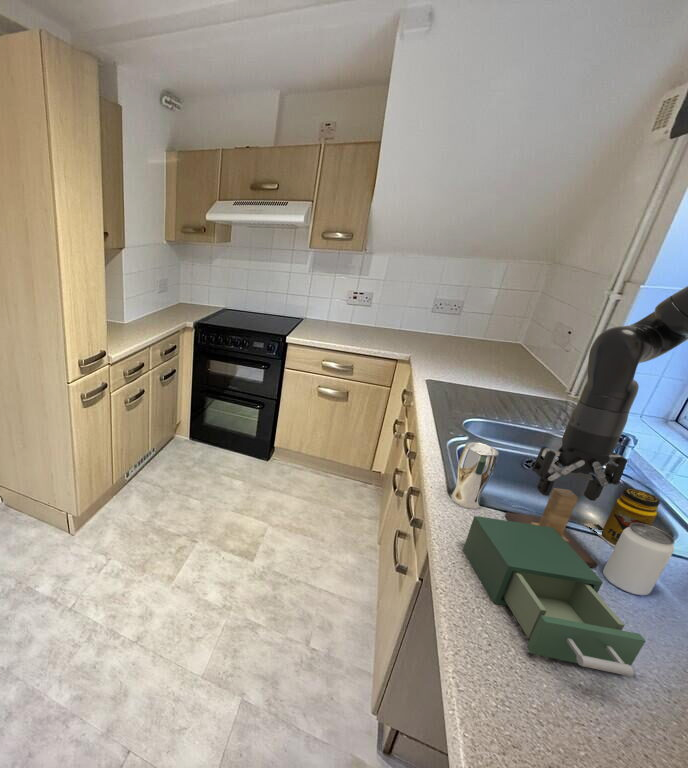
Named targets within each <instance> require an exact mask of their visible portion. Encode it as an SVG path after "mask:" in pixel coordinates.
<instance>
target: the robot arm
mask: <svg viewBox="0 0 688 768" xmlns="http://www.w3.org/2000/svg"><path fill="white" fill-rule="evenodd" d="M686 341H688V285H687V286H685V287H683V288H682V289H680V290H678V291H676V292H675V293H673V294H672V295H670V296H668V297H666V298H665V299H663V300H662V301H661V302H659V303H658V304H657V305H656V306H655V307H654V311H653V312H651V313H649V314H648V315H646V316H645V317H643V318H641V319H640V320H638V321H636V322H634V323H632V324H630V325H622V326H621V325H620V326H614V327H610V328H607V329H605V330H603V331H602V332H601V333H600V334H598V335H597V337H596V338H595V340H593V343H592V345H591V346H590V349H589V353H588V359H587V360H588V361H587V362H588V363H587V370H586V371H587V374H586V375H587V376H586V377H587V378H586V381H585V384H584V386H583V389H582V390H581V393H580V396H579V399H578V401H577V403H576V405H575V406H574V407H573V409H572V412H571V415H570V417H569V419H568V422H567V425H566V427H565V430H564V432H563V435H562V438H561V446H560V448H558V449H552V448H550V447H548V446H542V447H541V448H540V451H539V452H538V454H537V456H536V459H535V461H534V463H533V466H532V468H531V471H533V472H534V473H535V474H536V475H537V476H538V477H540V478H539V480H538V482H537V483H538V484H537V485H536V489H537V490H538V492H539V493H540V494H541V495H542V496H546V497H550V495H551V492H552V490H553V486H554V484H555V480H556V479H558V478H560V477H563V476H564V477H565V476H566V475H569V474H570V473H571V474H580V473H581V474H583V475H589V476H590V477H591V479H589V481H588V482H587V485H586V487H585V489H584V492H583V496H584V497H585V498H586V499H588V501H593V502H595V501H597V499H598V498H600V496H601V494H602V492H603V490H604V487H607V486H608V485H611V484H612V485H614V486H616V485H618V484H619V483H620V482H621V480H622V477H623V474H624V472H625V469H626V466H627V463H628V459H627V458H625V457H624V456H622V455H620V454H619V453H617V452H615V450H616V448H617V446H618V444H619V441H620V439H621V436H622V434H623V432H624V429H625V428H626V425H627V422H628V420H629V419H628V418H629V414H630V411H631V409H632V407H633V404H634V402H635V400H636V397H637V395H638V393H639V388H640V386H639V383H638V382H637V381H636V380H635V375H636V372H637V368H638V366H639V364H641V363H646V362H649V361H652V360H654V359H656V358H659V357H660V356H661V357H662V356H663V355H664V354H666V353H668V352H671V351H672V350H673V349H676V348H677V347H678V346H680V345H681V344H683V343H684V342H686ZM560 465H561V466H562V467H559V466H560ZM603 466H605V469H604V470H603V468H602V467H603Z"/></svg>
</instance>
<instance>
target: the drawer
mask: <svg viewBox="0 0 688 768" xmlns="http://www.w3.org/2000/svg"><path fill="white" fill-rule="evenodd" d="M503 598H504V599H505V601H506V603H507V604H508V606H507V607H508V608H509V609H510V611H511V613H512V614H513V616H514V617H515V619H516V620H517V623H518V624H519V626H520V628H521V629H522V631H523V633H524V634H525V636H526V637H527V639H529V641H528V643H527V645H526V648H527V650H528V652H529V653H530V654H531V655H536V656H541V657H546V658H550V659H555V660H560V661H565V662H570V663H575V664H578V665H579V666H581V667H585V668H589V669H593V670H599V671H603V672H608V673H614V674H618V675H623V676H627V677H633V676H634V674H635V670H634V668H633V667H632V665H633V663H634V662H635V660H636V659H637V657H638V655H639V653H640V652H641V650H642V648H643V647H644V645H645V643H646V640H645V638H644V637H643V636H642V635H641V634H640V633H639V632H638V633H637V632H633V631H628V630H623V629H624V627H625V623H624V622H623V621H622V620H621V619H620V618H619V617H618V615H616V613H615V612H614V611H613V610H612V609H611V607H610V606H609V605H608V604H607V603H606V602H605V601H604V600H603V599H602V597H601V596H600V595H599V594H598V593H596V592H595V591H594V589H593V588H592V587H591V586H590V585H589V584H587V583H581V582H576V581H570V580H564V579H558V578H552V577H546V576H541V575H535V574H529V573H523V572H517V571H512V574H511V576H510V579H509V581H508V584H507V586H506V589H505V591H504V594H503Z"/></svg>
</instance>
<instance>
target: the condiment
mask: <svg viewBox="0 0 688 768" xmlns="http://www.w3.org/2000/svg"><path fill="white" fill-rule="evenodd" d="M660 504H661V500H660V499H659V498H658V497H657V496H656V495H655V494H652V493H650V492H648V491H645V490H643V489H642V490H641V489H638V488H625V489H624V490H622V494H621V495H620V497H619V498H616V501H615V503H614V505H613V507H612V509H611V511H610V513H609V516H608V517H607V518H606V522H605V523H604V526H603V527H602V526H601V525H600V524H599V523H597V524H596V523H583V525H584V526H586V527H587V528H589V527H590V528H596V529H598V530H603V531H602V535H600V534H598V533H596V532H594V533H595V534H596V535H598V537H600V538H601V539H602V540H604V541H605V542H606V543H607V544H609V545H611V547H612V548H613V549H614V548H615V546H616V544H617V542H618V540H619V538H620V536H621V534H622V532H623V530H624V529H626V528H627V527H629V526H630V524H631V523H642V524H646V525H650V526H653V524H654V522H655V520H656V517H657V515H658V512H657V510H658V509H659V508H658V507H659V505H660ZM590 528H589V529H590ZM593 530H595V529H591V531H593Z"/></svg>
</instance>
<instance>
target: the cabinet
mask: <svg viewBox="0 0 688 768" xmlns="http://www.w3.org/2000/svg"><path fill="white" fill-rule="evenodd" d="M471 522H472V523H471V524H470V528H469V530H468V534H467V537H466V539H465V542H464V546H463V548H462V552H463V553H464V554H465V556H466V558H467V560H468V562H469V563H470V565H471V567H472V568H473V570H474V572H475V574H476V575H477V577H478V579H479V581H480V583H481V584H482V586H483V588H484V590H485V591H486V593H487V594H488V596H489V598H490V600H491V602H492V603H493V604H494V605H499V606H505V607H509V606H508V604H507V603H506V601H505V599H504V598H503V594H504V591H505V589H506V586H507V584H508V581H509V579H510V576H511V574H512V571H517V572H523V573H529V574H535V575H541V576H546V577H552V578H558V579H564V580H570V581H576V582H581V583H587V584H589V585H590V586H591V587H592V588H593V589H594V591H595V592H596V593H597V594H598V593H599V591H600V589H601V587H602V585H603V583H604V581H602V579H601V578H600V577H599V576H598V575H597V573H595V571H594V570H593V568H592V567H589V566H588V565H587V564H586V563H585V562H584V561H583V560H582V559H581V557H580V556H579V555H578V554H577V553H576V552H575V551H574V550H573V549H572V548H571V547H570V546H569V544H568V543H567V542H566V541H565V540H564V539H563V538H562V537H561V536H560V535H559V534H558V533H557V531H556V530H555V529H554V528H553V527H546V526H539V525H533V524H526V523H519V522H512V521H508V520H505V519H497V518H491V517H485V516H478V515H474V516H473V518H472V521H471Z"/></svg>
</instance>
